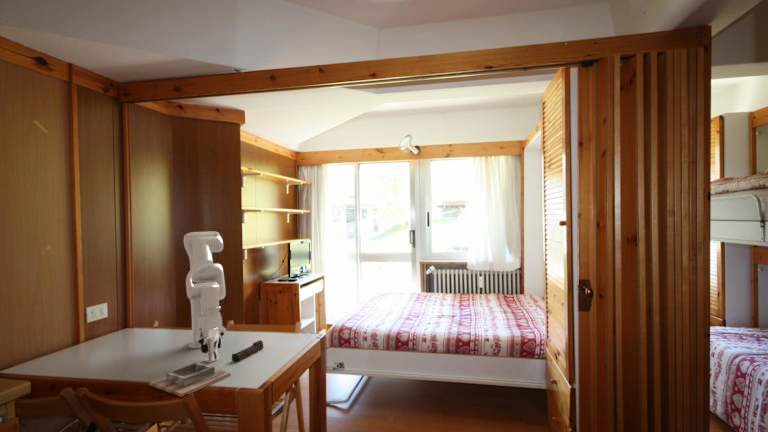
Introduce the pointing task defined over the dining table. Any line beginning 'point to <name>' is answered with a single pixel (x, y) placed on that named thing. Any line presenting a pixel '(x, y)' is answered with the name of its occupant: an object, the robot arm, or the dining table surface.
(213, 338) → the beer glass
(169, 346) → the dining table surface
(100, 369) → the dining table surface
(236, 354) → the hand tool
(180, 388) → the glass dock
